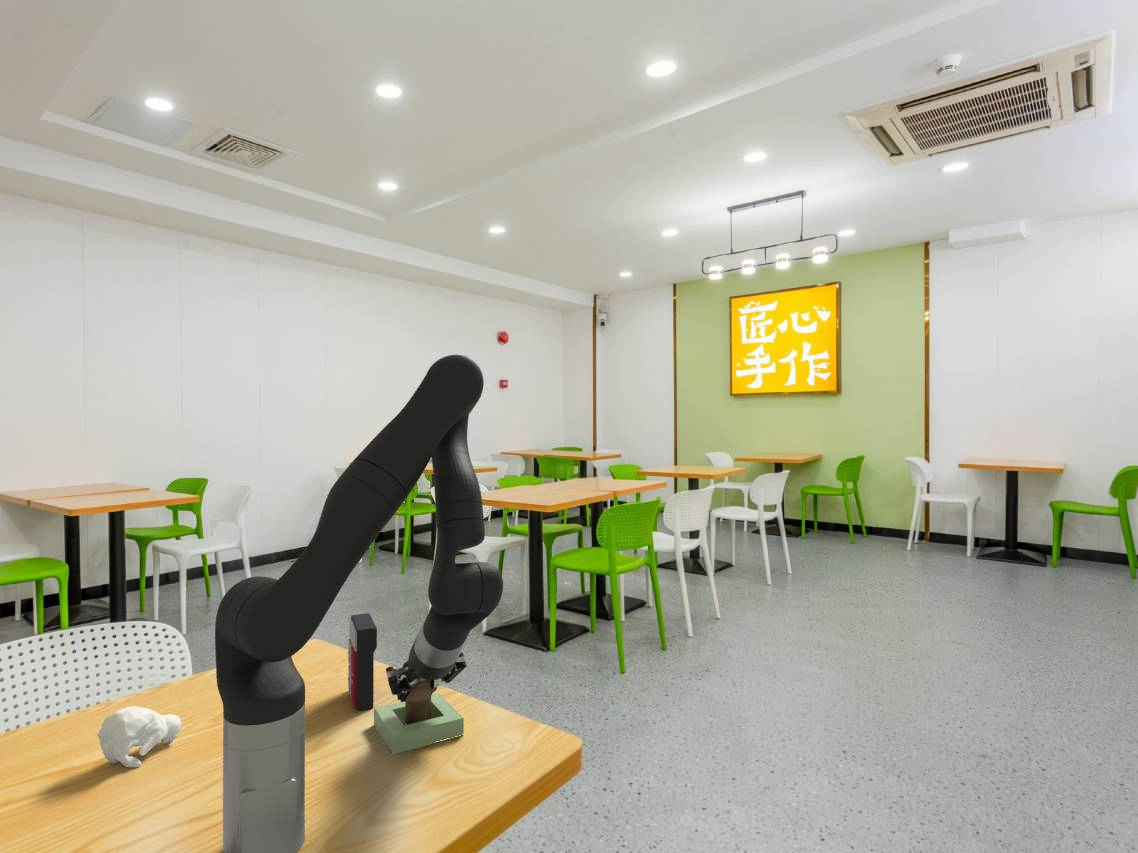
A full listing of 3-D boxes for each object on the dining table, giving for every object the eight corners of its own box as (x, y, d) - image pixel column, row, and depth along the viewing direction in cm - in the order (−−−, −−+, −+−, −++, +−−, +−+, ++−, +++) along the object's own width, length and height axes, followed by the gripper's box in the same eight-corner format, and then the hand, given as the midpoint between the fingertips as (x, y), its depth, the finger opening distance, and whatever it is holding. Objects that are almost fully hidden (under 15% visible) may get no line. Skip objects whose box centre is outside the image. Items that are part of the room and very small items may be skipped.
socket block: (463, 735, 107) (463, 717, 107) (393, 754, 101) (393, 735, 101) (439, 708, 117) (439, 692, 117) (374, 724, 111) (374, 707, 111)
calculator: (346, 689, 126) (347, 615, 126) (369, 686, 128) (369, 612, 128) (352, 712, 116) (353, 630, 116) (376, 707, 118) (377, 627, 118)
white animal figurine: (95, 711, 97) (168, 688, 108) (89, 769, 96) (163, 740, 107) (123, 717, 95) (195, 694, 106) (117, 777, 94) (190, 747, 105)
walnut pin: (434, 722, 108) (434, 670, 108) (409, 729, 106) (409, 676, 106) (426, 713, 112) (426, 662, 112) (402, 719, 110) (402, 667, 110)
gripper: (473, 617, 106) (447, 666, 117) (389, 631, 99) (369, 682, 109) (486, 658, 102) (458, 705, 112) (398, 676, 94) (377, 724, 105)
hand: (414, 693), depth 111 cm, fingers closed on walnut pin, 4 cm apart
